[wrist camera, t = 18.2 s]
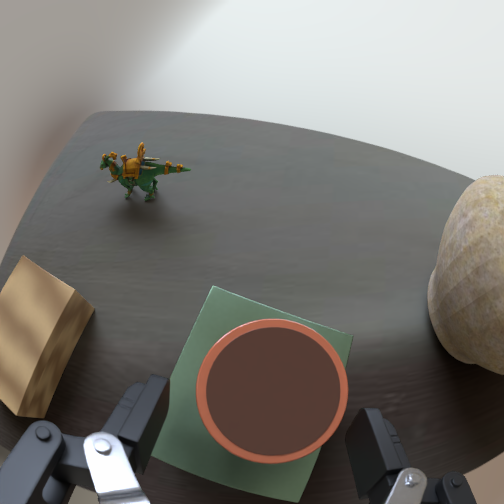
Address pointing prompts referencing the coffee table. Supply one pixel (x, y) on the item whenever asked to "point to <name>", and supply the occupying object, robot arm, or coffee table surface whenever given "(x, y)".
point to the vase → (472, 277)
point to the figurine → (138, 171)
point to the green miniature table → (189, 421)
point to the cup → (271, 391)
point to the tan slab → (36, 336)
